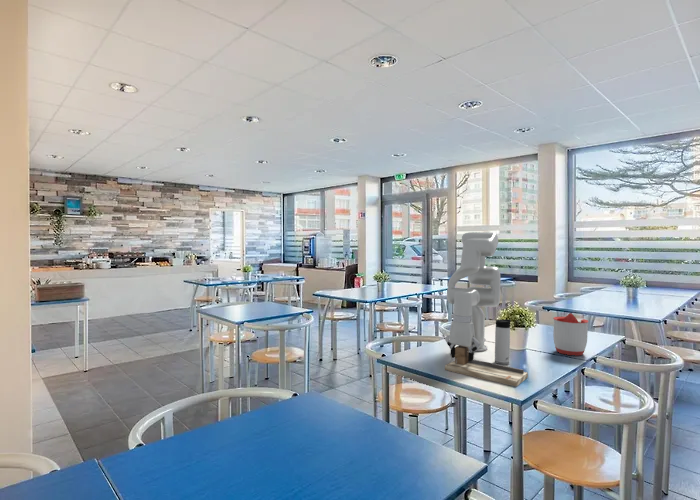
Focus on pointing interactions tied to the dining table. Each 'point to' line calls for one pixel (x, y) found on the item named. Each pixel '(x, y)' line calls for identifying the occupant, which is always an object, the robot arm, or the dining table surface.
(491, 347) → the dining table surface
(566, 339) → the citrus juicer
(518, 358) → the dining table surface
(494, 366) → the board
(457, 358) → the brown block
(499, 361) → the travel mug
